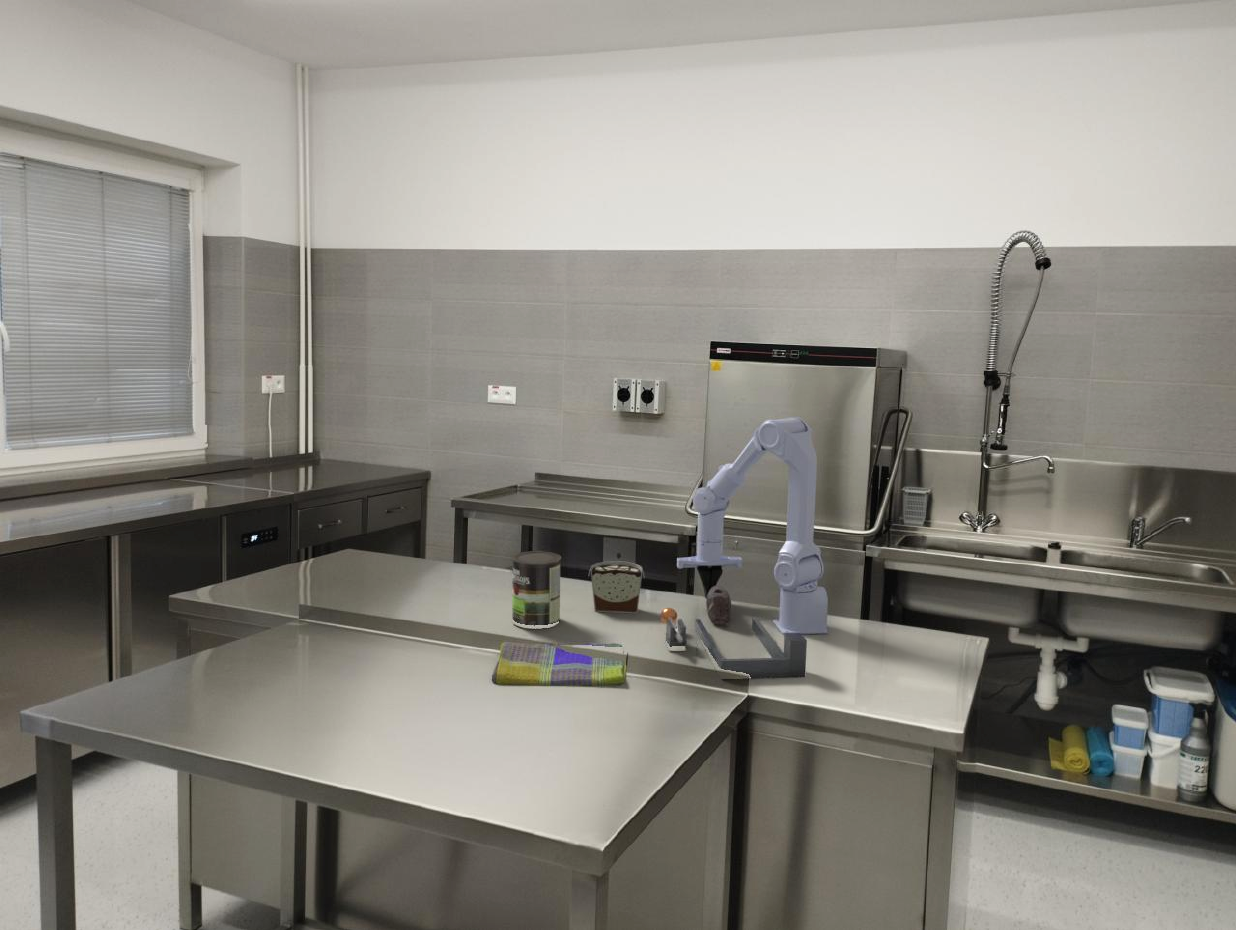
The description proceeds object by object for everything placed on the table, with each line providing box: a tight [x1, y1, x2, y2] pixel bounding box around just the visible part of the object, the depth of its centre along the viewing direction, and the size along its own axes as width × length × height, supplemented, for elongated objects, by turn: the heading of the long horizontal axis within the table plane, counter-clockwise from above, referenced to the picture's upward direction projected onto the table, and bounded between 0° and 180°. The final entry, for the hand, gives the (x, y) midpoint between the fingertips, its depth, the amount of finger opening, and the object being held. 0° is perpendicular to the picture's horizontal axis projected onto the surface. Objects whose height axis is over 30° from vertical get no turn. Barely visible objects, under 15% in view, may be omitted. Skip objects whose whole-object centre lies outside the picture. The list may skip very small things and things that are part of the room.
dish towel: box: [491, 641, 627, 687], centre depth 175 cm, size 18×24×3 cm
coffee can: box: [511, 550, 562, 626], centre depth 199 cm, size 10×10×14 cm
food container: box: [587, 560, 646, 614], centre depth 209 cm, size 12×6×10 cm, turn 84°
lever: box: [660, 607, 683, 643], centre depth 188 cm, size 3×16×3 cm, turn 6°
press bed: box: [665, 617, 808, 680], centre depth 183 cm, size 23×26×7 cm
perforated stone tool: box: [705, 584, 733, 626], centre depth 204 cm, size 15×5×7 cm, turn 177°
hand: (708, 598), depth 214 cm, fingers closed
